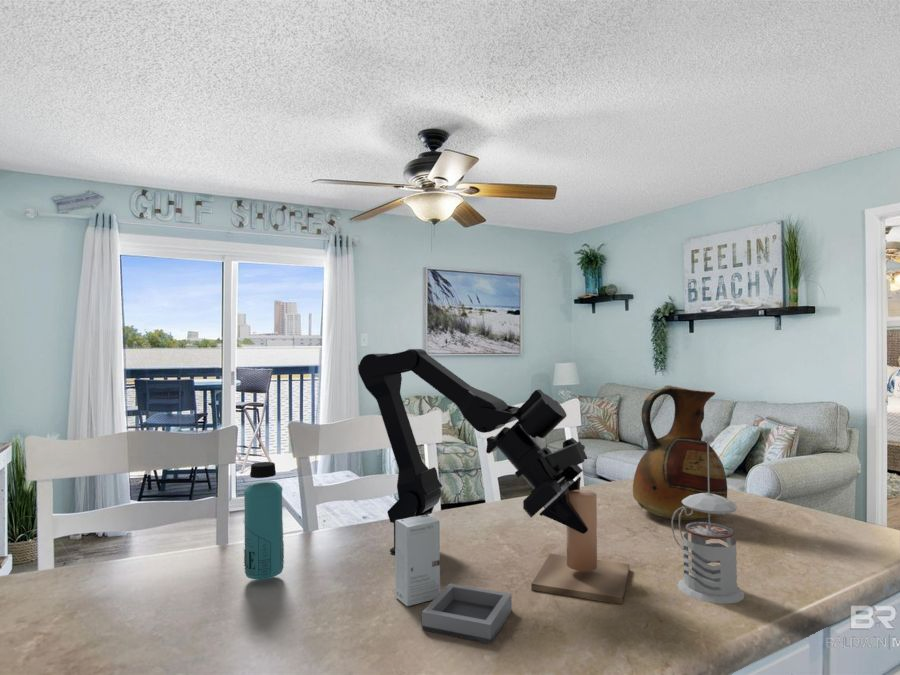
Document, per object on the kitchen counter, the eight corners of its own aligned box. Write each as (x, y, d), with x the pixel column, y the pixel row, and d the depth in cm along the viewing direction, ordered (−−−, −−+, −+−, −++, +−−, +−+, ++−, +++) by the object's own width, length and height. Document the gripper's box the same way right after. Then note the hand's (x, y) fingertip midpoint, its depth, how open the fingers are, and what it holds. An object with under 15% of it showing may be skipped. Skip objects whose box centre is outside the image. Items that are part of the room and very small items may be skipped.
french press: (717, 609, 83) (714, 440, 83) (655, 580, 93) (653, 430, 94) (758, 595, 87) (755, 435, 88) (695, 569, 98) (693, 426, 98)
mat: (531, 589, 90) (531, 583, 90) (550, 558, 103) (550, 553, 103) (621, 604, 85) (621, 597, 85) (629, 569, 98) (629, 564, 98)
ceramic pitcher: (744, 528, 119) (742, 388, 119) (650, 529, 119) (647, 389, 120) (704, 503, 138) (702, 382, 139) (622, 503, 139) (621, 383, 139)
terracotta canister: (570, 571, 91) (569, 497, 92) (563, 559, 96) (563, 490, 97) (600, 571, 91) (600, 497, 92) (592, 559, 96) (592, 489, 97)
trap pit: (422, 629, 78) (422, 611, 78) (449, 599, 87) (449, 583, 87) (490, 643, 74) (490, 624, 74) (511, 610, 83) (511, 593, 83)
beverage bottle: (292, 575, 96) (291, 459, 97) (267, 591, 90) (267, 467, 91) (260, 571, 99) (260, 457, 99) (234, 586, 92) (234, 465, 93)
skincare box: (407, 608, 84) (407, 527, 84) (393, 597, 88) (393, 519, 88) (442, 597, 88) (441, 520, 88) (427, 587, 91) (426, 513, 92)
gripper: (541, 432, 88) (614, 512, 83) (570, 418, 104) (632, 484, 99) (495, 478, 91) (562, 557, 86) (530, 457, 108) (588, 522, 103)
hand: (589, 527), depth 93 cm, fingers closed on terracotta canister, 5 cm apart
